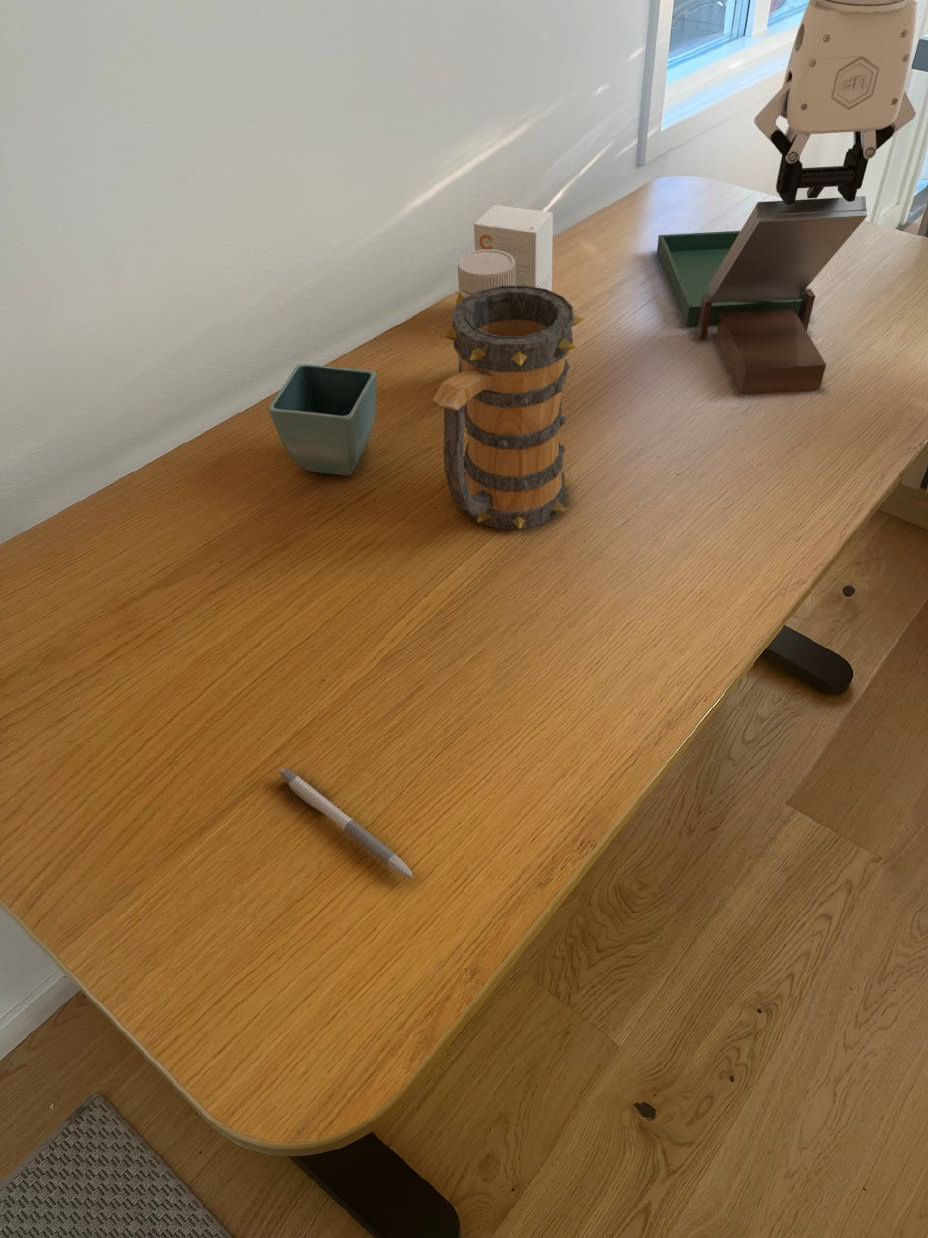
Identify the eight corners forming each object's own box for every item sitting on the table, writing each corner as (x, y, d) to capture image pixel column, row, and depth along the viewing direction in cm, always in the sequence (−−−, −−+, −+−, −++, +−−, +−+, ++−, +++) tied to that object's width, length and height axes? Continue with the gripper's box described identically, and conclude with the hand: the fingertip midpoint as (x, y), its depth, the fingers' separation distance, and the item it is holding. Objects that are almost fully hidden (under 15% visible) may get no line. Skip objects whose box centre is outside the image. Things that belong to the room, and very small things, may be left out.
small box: (551, 312, 120) (554, 211, 110) (534, 335, 116) (536, 232, 106) (494, 302, 122) (493, 202, 113) (476, 324, 118) (472, 223, 109)
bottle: (508, 405, 105) (508, 279, 94) (451, 396, 106) (444, 272, 96) (525, 374, 109) (527, 251, 98) (470, 366, 111) (465, 244, 100)
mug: (600, 485, 94) (615, 301, 79) (505, 581, 85) (503, 393, 70) (497, 444, 99) (494, 266, 85) (398, 530, 90) (375, 347, 76)
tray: (806, 320, 115) (811, 300, 113) (686, 327, 116) (689, 306, 114) (762, 247, 130) (766, 228, 128) (656, 253, 130) (658, 234, 128)
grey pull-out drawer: (886, 193, 88) (883, 159, 88) (772, 199, 88) (770, 165, 89) (797, 298, 112) (795, 271, 113) (708, 303, 112) (706, 276, 113)
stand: (838, 388, 104) (849, 349, 101) (722, 394, 105) (730, 355, 101) (801, 326, 115) (810, 288, 111) (696, 331, 115) (702, 293, 111)
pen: (287, 772, 71) (284, 762, 70) (418, 878, 64) (417, 868, 63) (277, 781, 70) (274, 770, 69) (408, 889, 63) (407, 879, 62)
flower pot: (361, 491, 95) (350, 417, 88) (282, 481, 96) (266, 408, 90) (386, 442, 101) (377, 370, 94) (311, 434, 102) (297, 362, 96)
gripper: (778, -2, 76) (740, 218, 89) (983, -14, 76) (915, 208, 89) (754, -22, 81) (721, 188, 94) (946, -34, 81) (887, 178, 94)
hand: (816, 196), depth 91 cm, fingers closed on grey pull-out drawer, 5 cm apart
